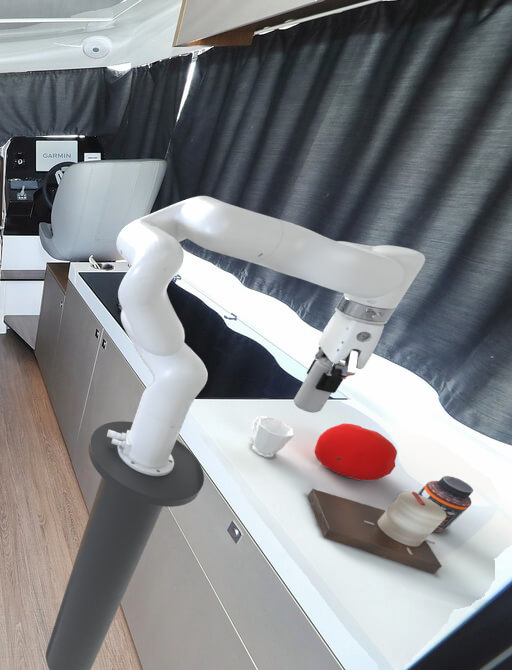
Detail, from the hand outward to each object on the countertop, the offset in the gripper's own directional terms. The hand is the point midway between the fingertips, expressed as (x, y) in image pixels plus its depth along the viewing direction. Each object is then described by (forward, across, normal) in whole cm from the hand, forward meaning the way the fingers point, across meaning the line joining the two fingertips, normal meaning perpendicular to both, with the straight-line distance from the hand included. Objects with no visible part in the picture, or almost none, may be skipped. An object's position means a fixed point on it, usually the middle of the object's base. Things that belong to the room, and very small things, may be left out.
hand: (320, 382), depth 90 cm
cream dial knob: (+21, -16, -16) cm, 30 cm away
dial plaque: (+23, -16, -12) cm, 30 cm away
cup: (+23, +3, +2) cm, 24 cm away
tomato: (+23, +4, -14) cm, 28 cm away
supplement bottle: (+23, -7, -24) cm, 34 cm away
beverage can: (+7, 0, 0) cm, 7 cm away
